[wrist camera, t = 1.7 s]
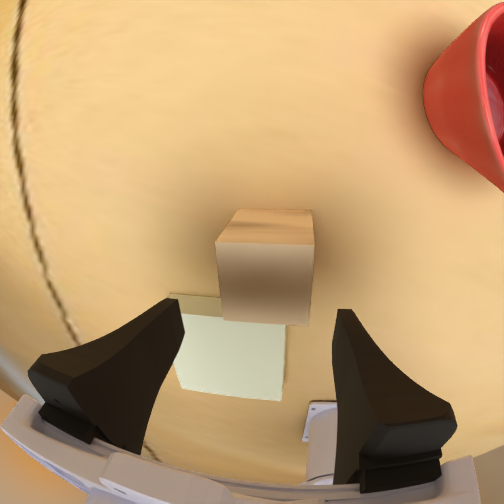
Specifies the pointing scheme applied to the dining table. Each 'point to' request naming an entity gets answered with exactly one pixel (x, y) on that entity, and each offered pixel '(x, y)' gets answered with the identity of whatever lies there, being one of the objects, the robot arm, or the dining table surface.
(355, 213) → the dining table surface
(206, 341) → the base block
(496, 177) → the flower pot
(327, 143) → the dining table surface
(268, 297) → the maple block
